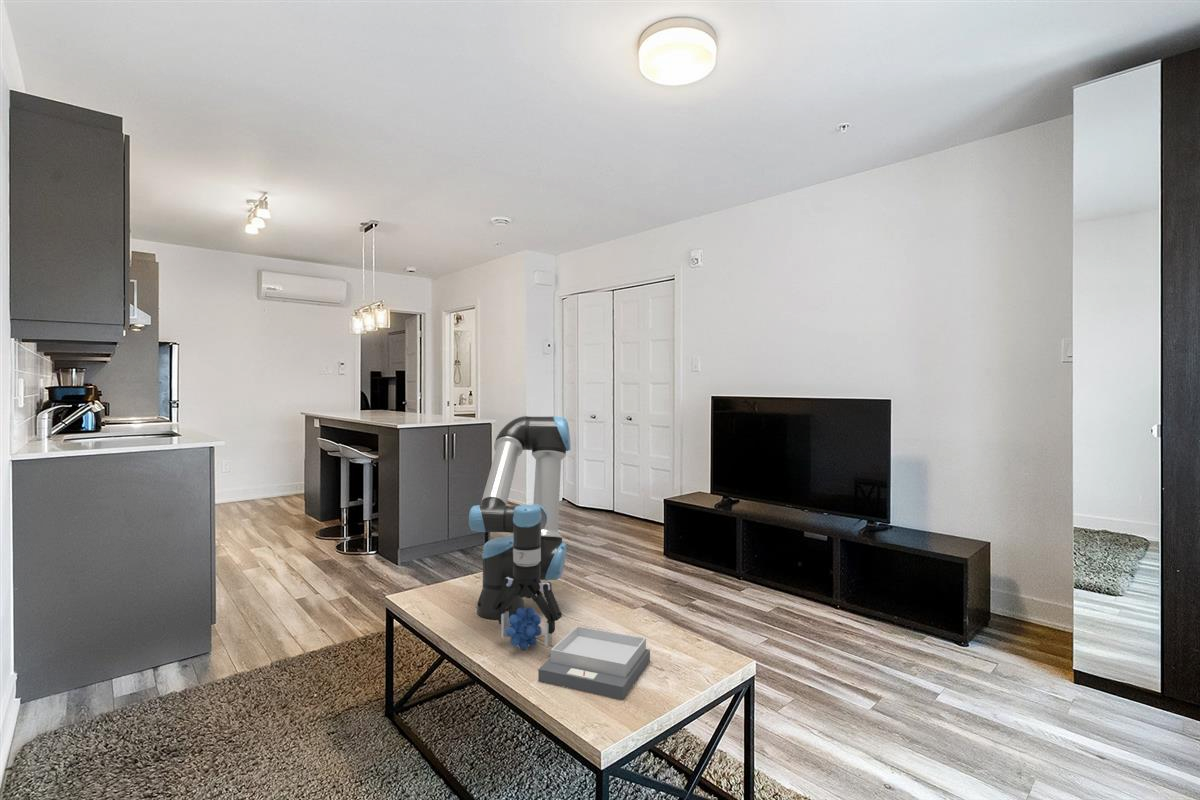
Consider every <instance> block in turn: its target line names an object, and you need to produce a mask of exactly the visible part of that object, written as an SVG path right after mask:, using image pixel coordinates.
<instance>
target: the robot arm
mask: <svg viewBox="0 0 1200 800" xmlns="http://www.w3.org/2000/svg"><path fill="white" fill-rule="evenodd" d="M493 448H494V451H495V453H494V456H493V460H492V462H491V467H490V470H489V473H488V477H487V481H486V484H485V488H484V491H483V494H482V499H481V501H480V504H477V505H472V507H471V508H470V510H469V513H468V526H469V529H470V530H471V531H472V532H479V533H513V535H505V536H500V537H496V538H492V539H490V540H488V541H487V542H485V543H484V545H483V547H482V556H481V558H482V589H481V592H480V595H479V597H478V601H477V603H476V613H477V615H478V616H480V617H481V618H484V619H489V620H498V623H499V625H501V627H500V629H501V630H500V638H501V639H505V638H506V637H507V636H508V635H507V628H508V627H509V626H510V623H509V617H510V616H511V615H513V614H514V615H517V614H516V611H517V609H518V608H520V607H523V608H525V600H524V599H523V598H525V599H532V601H533V602H535V603H536V605H537V607H538V608H539V609H540V612H541V613H542V614H543V615H544V617H545V618H546V621H545V622H544V647H546V648H548V647H549V646H550V645H551V644H552V643H553V633H555V631H556V621H558V620H559V619H561V618H562V617H563V615H562V612H561V610H560V608H559V604H558V602H557V600H556V597H555V596H554V593H553V591H552V583H551V582H550V581H556V580H560V579H561V577H562V575H563V572H564V568H565V563H566V558H567V543H565V542H564V541H563V536H562V535H561V534H560V532H559V517H560V516H559V515H560V514H559V513H560V495H561V494H560V492H561V471H562V469H561V467H562V460H563V459H565V458H566V454H567V452H568V451H571V436H570V428H569V422H568V420H567V419H566V418H565V417H563V416H562V417H561V416H560V417H559V416H554V415H553V416H529V415H527V416H526V415H524V416H519V417H517V418H515V419H514V418H513V420H511V421H509V422H508V423H507V424H506V425H505V426H503V428H502V429H500V431H499V433H498V434H497V436H496V437H495V442H494V445H493ZM523 451H531V456H532V457H533V458H534V459H535V469H534V470H535V471H534V487H533V501H532V503H533V504H521V505H515V506H514V505H513V506H511V505H508V501H509V495H510V493H511V487H512V484H513V479H514V475H515V470H516V467H517V463H518V458H519V457H520V456H521V454H522V453H523ZM542 581H546V582H545V583H544V582H542ZM547 581H548V582H547ZM542 592H543V593H542Z"/></svg>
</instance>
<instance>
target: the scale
mask: <svg viewBox="0 0 1200 800" xmlns="http://www.w3.org/2000/svg"><path fill="white" fill-rule="evenodd" d="M650 662H651V650H650V649H648V648H647V638H646V637H642V636H636V635H630V634H624V633H618V632H613V631H608V630H601V629H595V628H590V627H584V626H579V625H577V626H576V627H573V629H572V630H571V631H569V632H568V633H567V634H566V635H565V636H564V637H563V638H562V639H561V640H560V641H558V642H557V643H556V644H555V645H554V646H553V647H551V649H550V658H549V659H548V660H547V661H545V662H544V663H543V664H542V665H541V666H540V667H539V668H538V669H537V672H538V673H537V674H538V675H537V677H538V682H540V683H544V682H545V684H548V683H549V685H553V684H554V685H553V686H557V685H559V686H558V687H562V686H564V688H566V687H568V689H572V690H575V689H576V691H579V692H580V691H581V692H586V693H589V694H593V695H598V696H602V697H607V698H612V699H617V700H621V701H623V700H625V698H626V697H627V694H629V692H630V690H631V689H632V688H633V686H634V685H635V683H636V682H637V681H638V679H639V677H641V674H642V673H643V672H644V670H645V669H646V668H647V666H648V664H649V663H650Z"/></svg>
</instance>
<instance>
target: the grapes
mask: <svg viewBox="0 0 1200 800" xmlns="http://www.w3.org/2000/svg"><path fill="white" fill-rule="evenodd" d="M516 614H517V615H514V614H513V615H511V616H510V617H509V627H508V628H507V636H508V637H509V638H510V640H509V641H510V644H511V646H513V647H518V648H519V649H520V650H521V651H525V650H527V649H528V648H529V646H531V647H533V646H534V645H536V644H537V641H538V640H537V637H538V636H540V635H541V634H542V632H543V631H542V630H543V629H542V627H541V625H540V624H541V622H542V618H541V616H540V615H539V614H536V610H535V609H534V608H533V607H527V608H525V607H524V608H523V607H520V608H518V609H517V611H516Z"/></svg>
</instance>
